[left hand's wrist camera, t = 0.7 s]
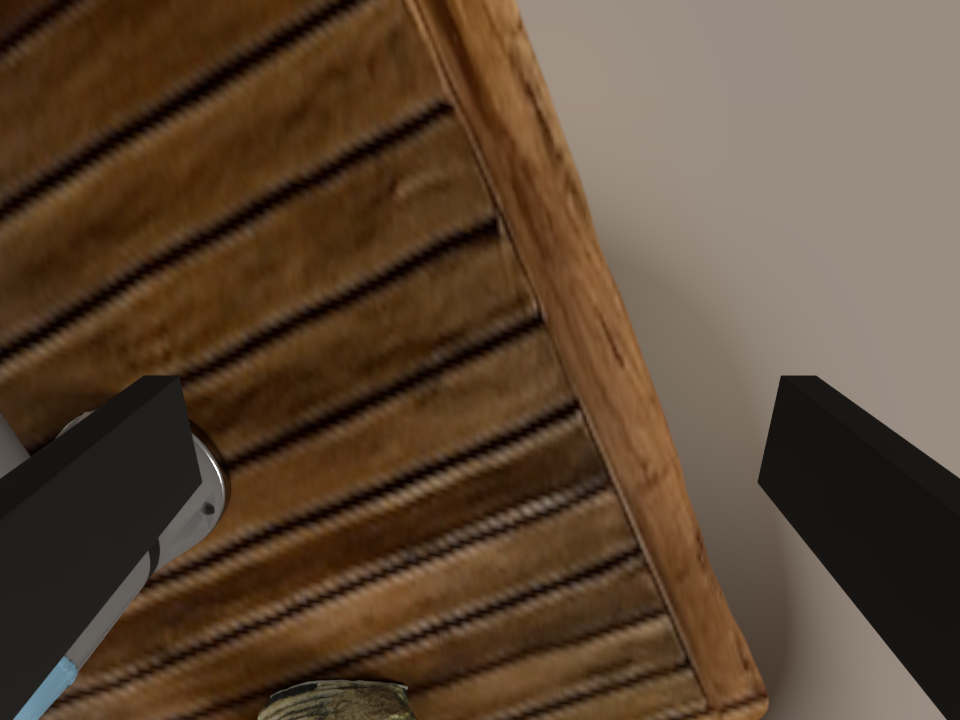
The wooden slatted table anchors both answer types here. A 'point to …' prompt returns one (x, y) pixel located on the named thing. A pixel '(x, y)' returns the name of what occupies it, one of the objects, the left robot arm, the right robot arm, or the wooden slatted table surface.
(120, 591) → the left robot arm
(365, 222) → the wooden slatted table surface
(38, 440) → the wooden slatted table surface
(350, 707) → the fossil
